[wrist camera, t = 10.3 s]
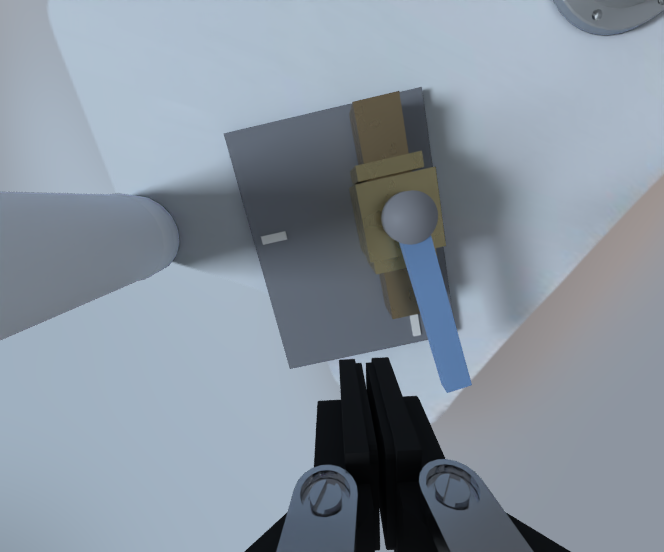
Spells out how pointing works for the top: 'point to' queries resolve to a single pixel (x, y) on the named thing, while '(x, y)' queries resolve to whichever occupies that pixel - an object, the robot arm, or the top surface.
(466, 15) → the top surface
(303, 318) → the base plate
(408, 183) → the valve
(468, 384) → the lever
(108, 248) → the bottle
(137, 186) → the top surface
